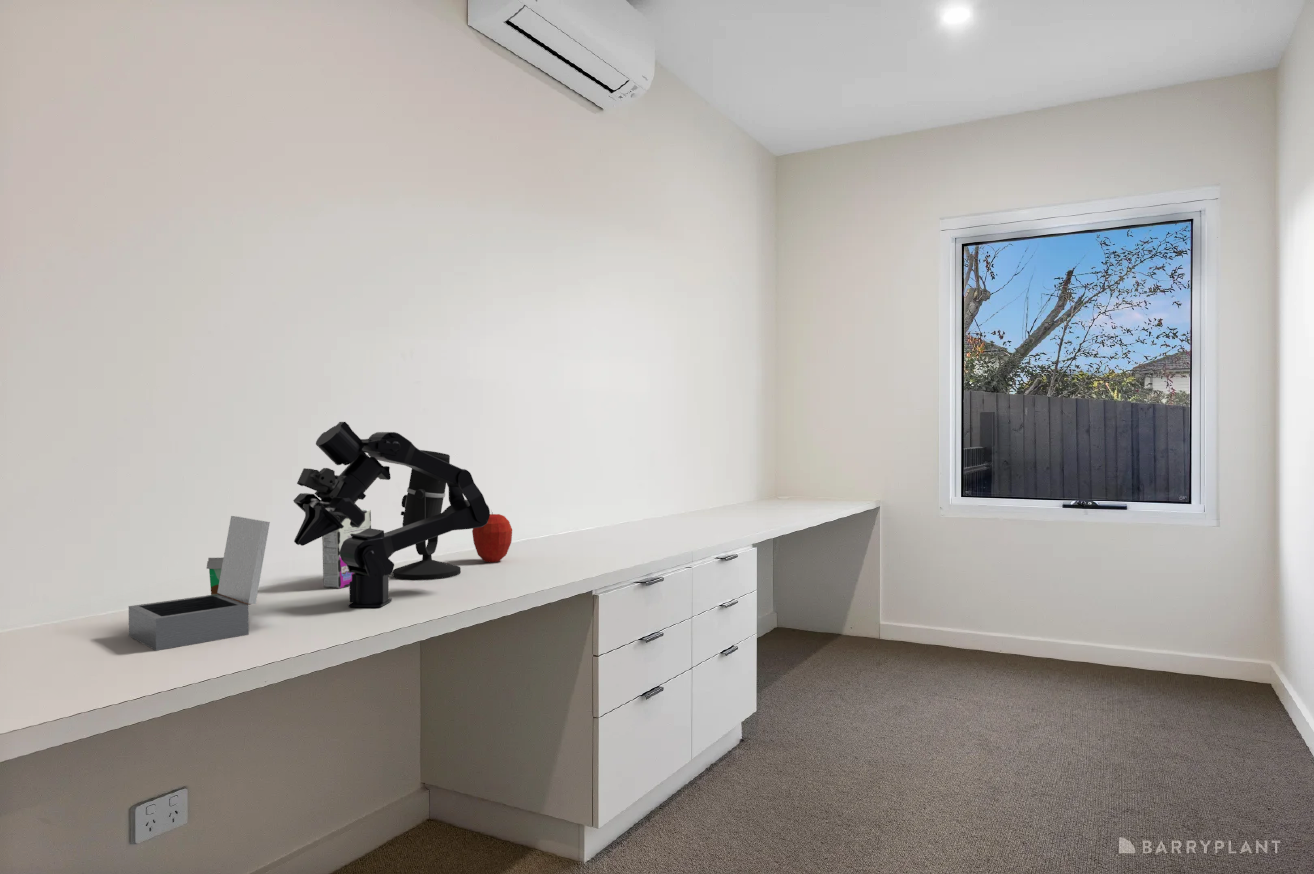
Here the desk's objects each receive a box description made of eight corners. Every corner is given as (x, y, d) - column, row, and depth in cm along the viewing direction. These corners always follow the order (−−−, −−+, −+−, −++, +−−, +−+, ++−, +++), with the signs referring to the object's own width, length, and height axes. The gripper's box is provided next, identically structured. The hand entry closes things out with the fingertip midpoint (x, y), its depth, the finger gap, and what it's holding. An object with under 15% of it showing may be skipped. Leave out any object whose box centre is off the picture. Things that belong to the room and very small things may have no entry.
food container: (234, 610, 158) (234, 558, 158) (206, 609, 159) (206, 558, 159) (276, 598, 170) (276, 549, 170) (250, 597, 172) (249, 549, 172)
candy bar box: (354, 578, 192) (354, 508, 192) (372, 580, 191) (372, 509, 191) (320, 587, 182) (320, 513, 182) (339, 589, 180) (339, 514, 180)
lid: (217, 592, 149) (234, 593, 151) (248, 603, 140) (266, 604, 142) (231, 515, 151) (247, 517, 153) (262, 521, 142) (280, 523, 144)
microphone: (405, 568, 207) (405, 449, 207) (467, 568, 206) (467, 449, 206) (382, 579, 191) (382, 450, 191) (450, 580, 191) (449, 450, 190)
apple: (519, 559, 221) (519, 508, 221) (497, 565, 212) (497, 511, 212) (487, 557, 225) (487, 506, 225) (464, 562, 216) (464, 509, 216)
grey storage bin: (217, 621, 149) (217, 593, 149) (248, 634, 140) (248, 604, 140) (128, 635, 139) (128, 606, 139) (155, 650, 130) (155, 618, 130)
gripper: (303, 452, 163) (245, 512, 155) (349, 454, 151) (289, 519, 143) (341, 489, 169) (287, 549, 161) (388, 494, 156) (333, 559, 148)
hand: (298, 543), depth 153 cm, fingers closed
